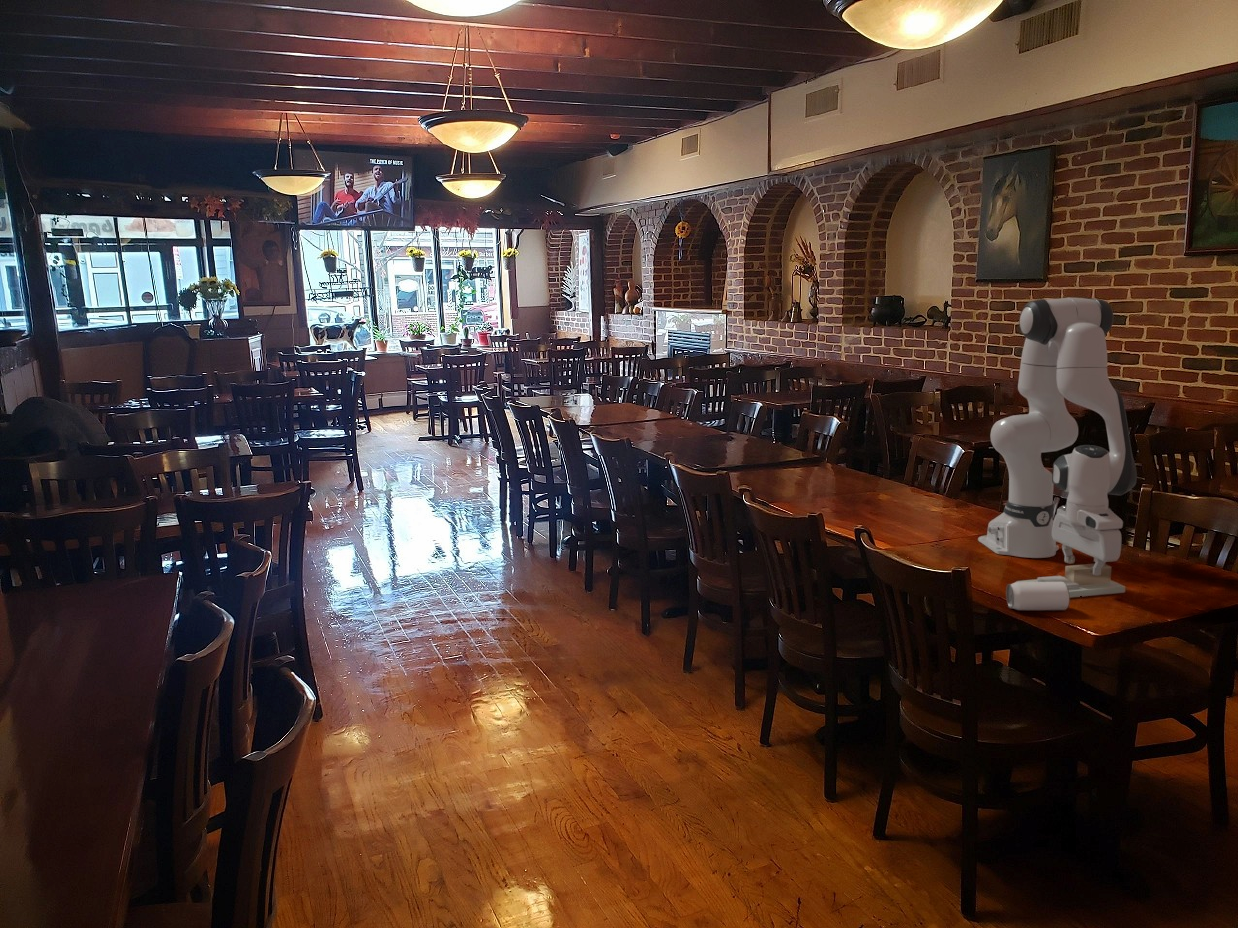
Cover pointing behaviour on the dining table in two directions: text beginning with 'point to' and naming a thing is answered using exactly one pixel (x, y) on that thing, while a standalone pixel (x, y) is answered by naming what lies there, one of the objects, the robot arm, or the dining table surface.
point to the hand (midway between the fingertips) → (1082, 568)
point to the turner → (1080, 576)
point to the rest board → (1093, 589)
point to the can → (1038, 596)
